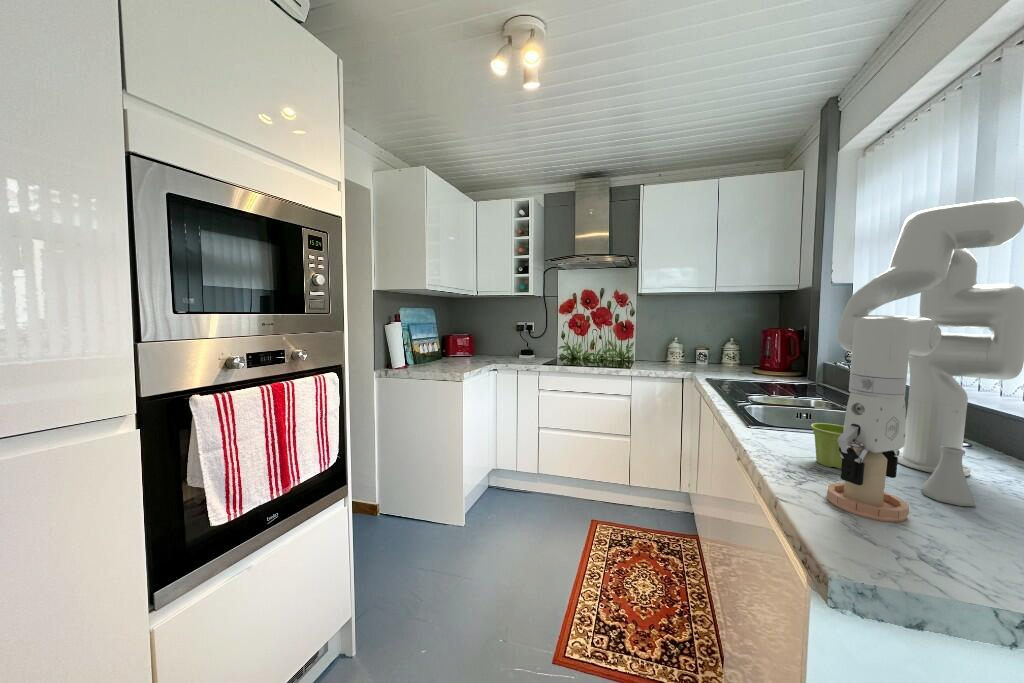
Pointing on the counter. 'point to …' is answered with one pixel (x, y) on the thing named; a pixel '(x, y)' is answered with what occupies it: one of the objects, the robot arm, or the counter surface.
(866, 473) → the candle
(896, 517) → the candle dish
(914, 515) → the counter surface
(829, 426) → the plant pot
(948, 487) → the flask
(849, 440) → the robot arm
